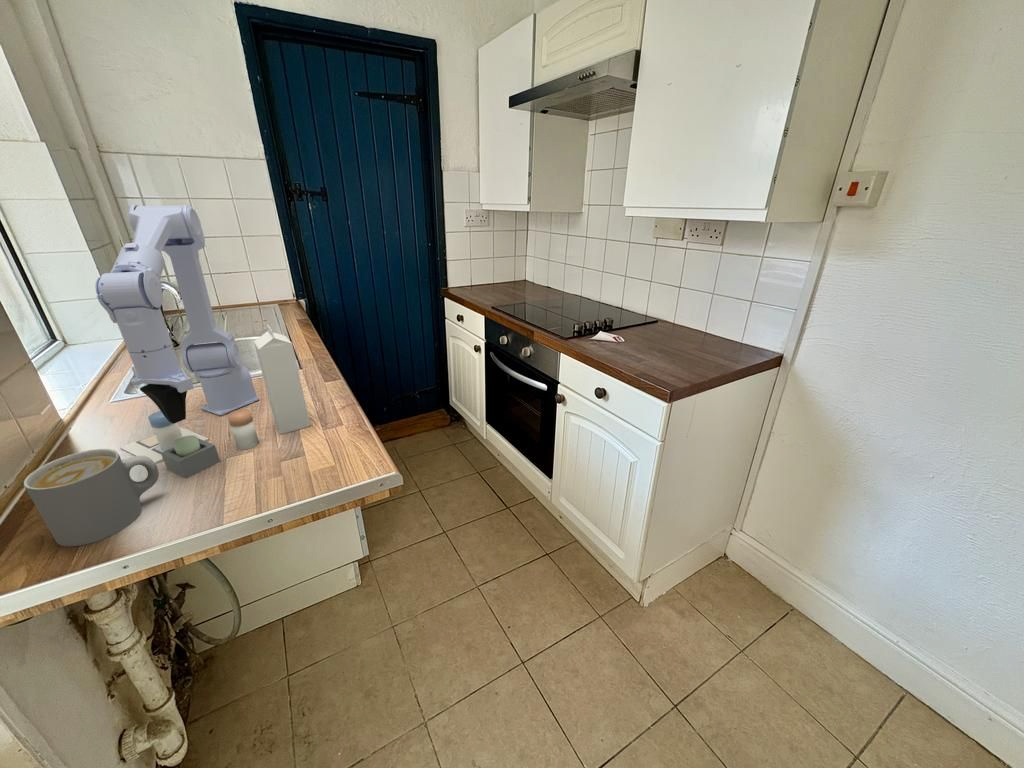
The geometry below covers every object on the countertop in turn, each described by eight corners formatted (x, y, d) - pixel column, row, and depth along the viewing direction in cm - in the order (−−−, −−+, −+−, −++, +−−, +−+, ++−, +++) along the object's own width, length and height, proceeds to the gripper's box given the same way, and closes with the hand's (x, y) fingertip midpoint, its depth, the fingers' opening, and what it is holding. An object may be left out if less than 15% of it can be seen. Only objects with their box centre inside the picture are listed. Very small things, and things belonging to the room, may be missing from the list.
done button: (196, 449, 80) (190, 433, 79) (207, 454, 78) (201, 438, 77) (174, 459, 77) (168, 442, 76) (185, 464, 76) (179, 447, 74)
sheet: (176, 426, 92) (175, 424, 92) (208, 439, 87) (208, 437, 87) (120, 448, 84) (119, 447, 84) (152, 464, 79) (151, 462, 78)
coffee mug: (52, 557, 58) (18, 499, 54) (58, 520, 65) (28, 465, 61) (172, 513, 66) (150, 460, 62) (166, 484, 73) (145, 434, 69)
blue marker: (179, 438, 86) (167, 408, 83) (189, 443, 84) (177, 412, 82) (157, 447, 83) (144, 416, 80) (166, 453, 81) (154, 421, 79)
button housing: (201, 453, 82) (196, 437, 81) (220, 461, 80) (214, 445, 78) (167, 469, 77) (160, 452, 76) (185, 478, 75) (179, 461, 73)
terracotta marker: (251, 437, 87) (242, 407, 85) (263, 442, 86) (254, 411, 83) (232, 446, 84) (222, 415, 81) (244, 451, 82) (234, 419, 80)
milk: (280, 435, 88) (253, 333, 79) (275, 423, 93) (248, 326, 84) (311, 426, 92) (288, 327, 83) (304, 415, 96) (282, 321, 87)
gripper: (99, 347, 69) (129, 421, 74) (145, 362, 63) (175, 440, 68) (149, 336, 75) (174, 405, 80) (196, 348, 69) (219, 422, 74)
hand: (177, 420), depth 75 cm, fingers closed
